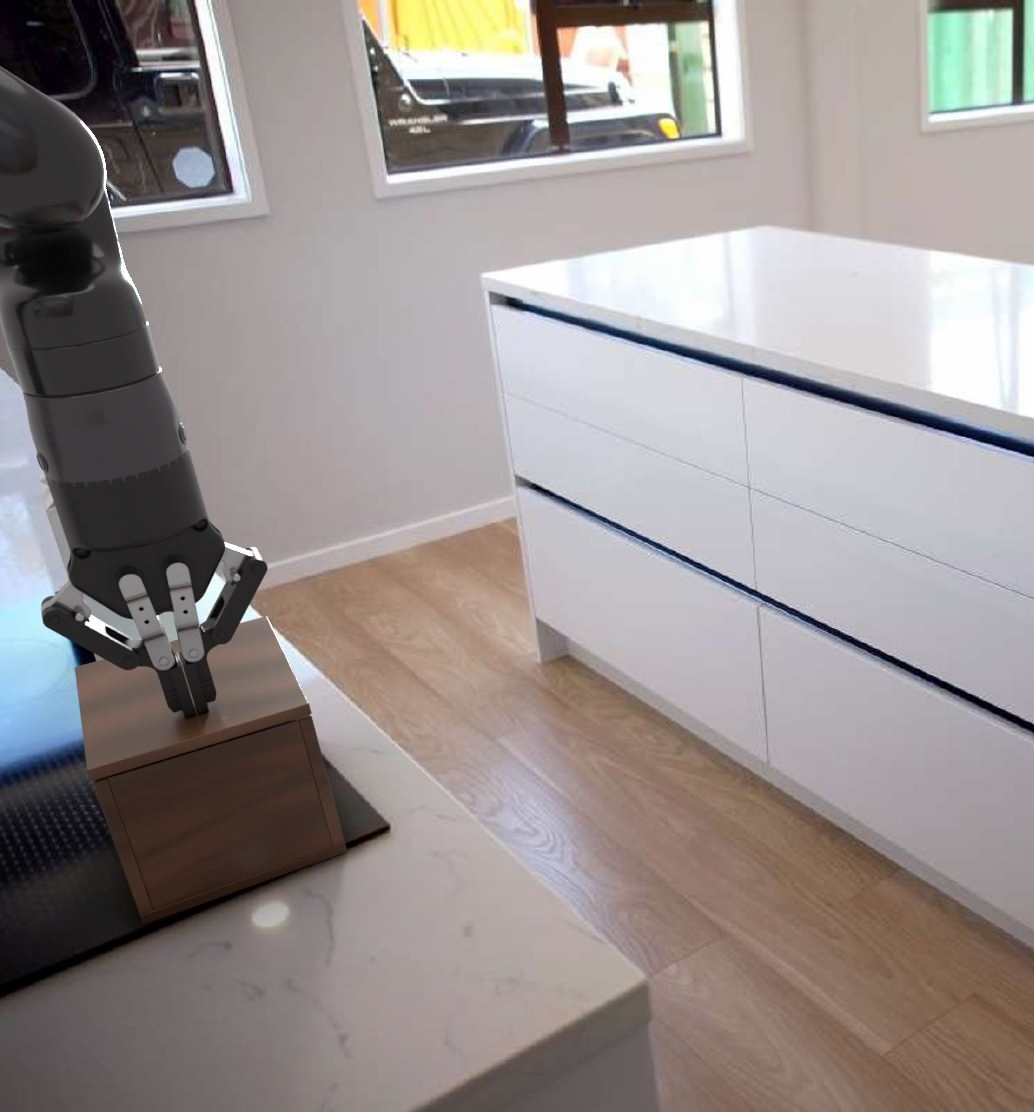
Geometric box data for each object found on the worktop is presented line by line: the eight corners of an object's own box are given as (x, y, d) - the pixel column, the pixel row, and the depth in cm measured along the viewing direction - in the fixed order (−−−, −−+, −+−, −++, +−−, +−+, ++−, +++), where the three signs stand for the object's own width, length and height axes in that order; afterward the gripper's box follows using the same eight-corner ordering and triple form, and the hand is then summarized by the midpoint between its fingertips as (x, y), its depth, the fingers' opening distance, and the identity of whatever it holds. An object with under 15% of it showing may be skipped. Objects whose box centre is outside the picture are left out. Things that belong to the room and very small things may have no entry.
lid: (312, 714, 81) (309, 703, 80) (91, 781, 75) (86, 770, 75) (269, 625, 93) (266, 615, 93) (77, 677, 88) (74, 666, 87)
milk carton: (173, 614, 121) (116, 426, 113) (184, 642, 116) (124, 446, 108) (90, 636, 118) (25, 444, 110) (97, 666, 112) (30, 465, 105)
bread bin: (347, 852, 86) (311, 715, 81) (143, 925, 80) (92, 782, 75) (302, 749, 98) (269, 625, 94) (122, 806, 92) (78, 677, 88)
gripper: (228, 414, 79) (292, 656, 87) (-16, 462, 73) (75, 718, 80) (248, 445, 73) (315, 702, 81) (-16, 500, 67) (82, 772, 75)
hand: (195, 709), depth 81 cm, fingers closed
